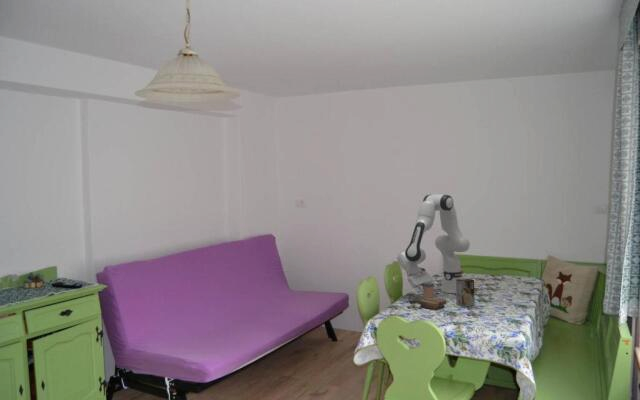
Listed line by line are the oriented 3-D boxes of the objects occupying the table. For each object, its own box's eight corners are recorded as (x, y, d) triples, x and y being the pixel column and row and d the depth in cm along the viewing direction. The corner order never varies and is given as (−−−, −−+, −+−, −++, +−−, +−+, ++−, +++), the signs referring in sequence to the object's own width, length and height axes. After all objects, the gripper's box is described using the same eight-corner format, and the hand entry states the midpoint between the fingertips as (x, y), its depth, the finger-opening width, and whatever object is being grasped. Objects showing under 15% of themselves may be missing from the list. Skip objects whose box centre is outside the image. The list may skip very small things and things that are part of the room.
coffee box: (469, 303, 314) (468, 278, 314) (474, 305, 308) (474, 279, 308) (456, 304, 312) (455, 279, 311) (461, 307, 306) (461, 280, 305)
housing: (427, 300, 324) (427, 282, 324) (434, 301, 320) (433, 283, 320) (423, 302, 320) (422, 283, 320) (429, 303, 317) (429, 284, 317)
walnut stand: (429, 303, 316) (429, 297, 315) (446, 306, 307) (446, 300, 307) (418, 307, 307) (418, 300, 307) (435, 310, 299) (435, 303, 298)
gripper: (408, 272, 318) (421, 289, 311) (426, 268, 333) (439, 284, 326) (402, 278, 321) (415, 295, 315) (420, 274, 336) (433, 290, 329)
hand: (427, 290), depth 321 cm, fingers open, 8 cm apart
